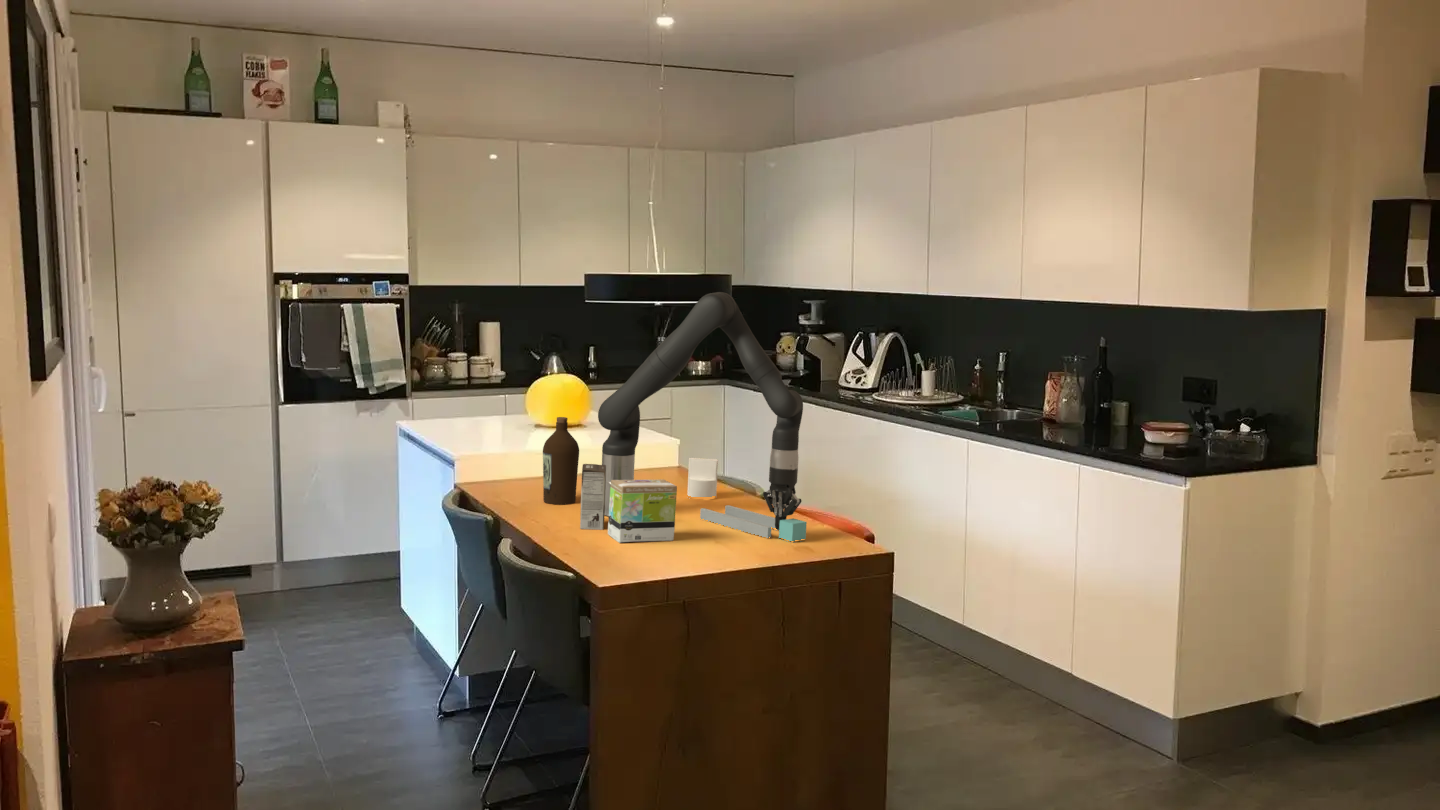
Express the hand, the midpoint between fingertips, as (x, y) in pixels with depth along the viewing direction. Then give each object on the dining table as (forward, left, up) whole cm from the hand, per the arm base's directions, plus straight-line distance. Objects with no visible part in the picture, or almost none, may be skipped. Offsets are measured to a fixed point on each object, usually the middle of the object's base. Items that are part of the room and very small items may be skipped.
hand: (780, 529), depth 306 cm
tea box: (-34, +16, -2) cm, 38 cm away
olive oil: (-27, +66, -2) cm, 71 cm away
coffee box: (-37, +34, -2) cm, 51 cm away
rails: (0, +13, -2) cm, 13 cm away
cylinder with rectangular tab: (+16, +52, -2) cm, 54 cm away
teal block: (0, -5, -2) cm, 5 cm away
